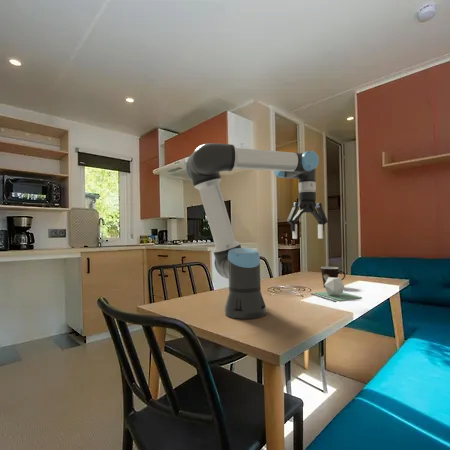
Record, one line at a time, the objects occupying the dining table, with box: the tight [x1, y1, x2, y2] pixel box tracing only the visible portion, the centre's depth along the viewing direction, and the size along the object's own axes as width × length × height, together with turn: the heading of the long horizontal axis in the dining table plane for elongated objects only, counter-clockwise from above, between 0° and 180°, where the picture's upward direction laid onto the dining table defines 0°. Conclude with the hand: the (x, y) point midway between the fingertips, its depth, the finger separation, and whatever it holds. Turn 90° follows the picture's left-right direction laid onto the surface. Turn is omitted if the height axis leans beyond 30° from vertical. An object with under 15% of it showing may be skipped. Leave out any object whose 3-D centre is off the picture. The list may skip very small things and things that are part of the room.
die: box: [323, 277, 345, 296], centre depth 126 cm, size 8×9×10 cm
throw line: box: [310, 292, 337, 303], centre depth 124 cm, size 1×16×1 cm, turn 20°
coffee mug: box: [320, 266, 346, 289], centre depth 145 cm, size 12×9×10 cm
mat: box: [314, 291, 363, 302], centre depth 127 cm, size 12×16×1 cm
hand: (307, 238), depth 129 cm, fingers open, 13 cm apart
